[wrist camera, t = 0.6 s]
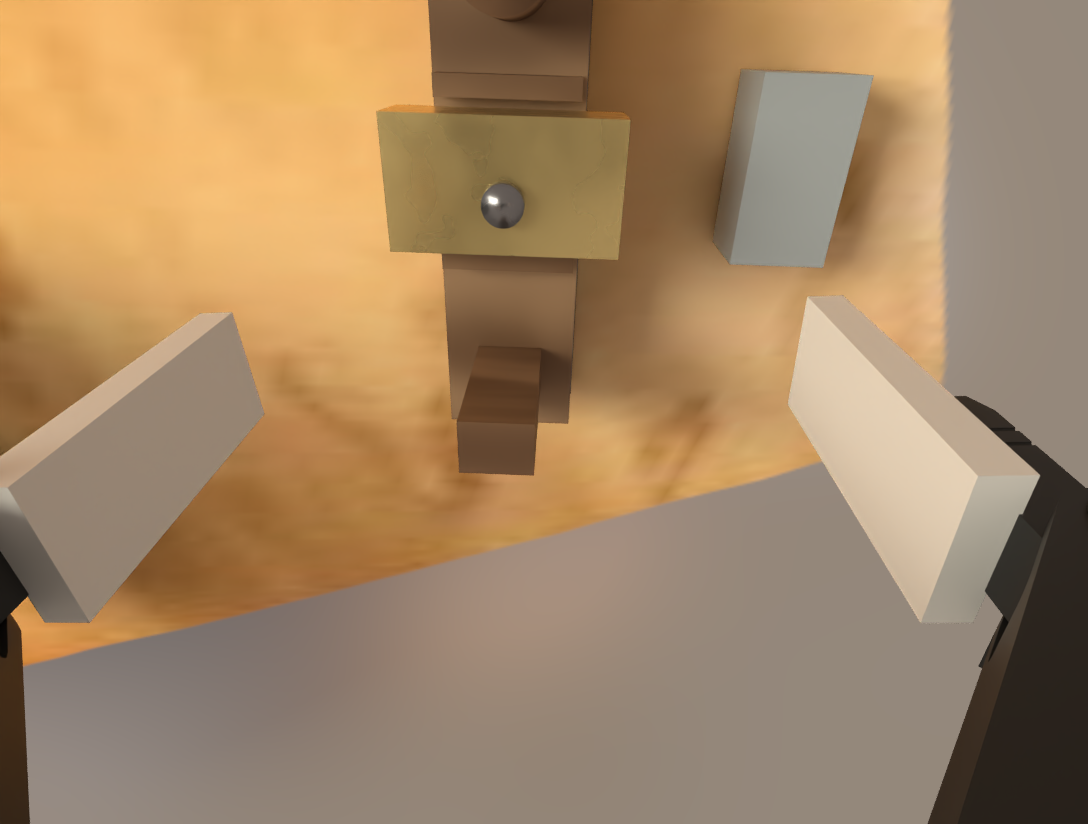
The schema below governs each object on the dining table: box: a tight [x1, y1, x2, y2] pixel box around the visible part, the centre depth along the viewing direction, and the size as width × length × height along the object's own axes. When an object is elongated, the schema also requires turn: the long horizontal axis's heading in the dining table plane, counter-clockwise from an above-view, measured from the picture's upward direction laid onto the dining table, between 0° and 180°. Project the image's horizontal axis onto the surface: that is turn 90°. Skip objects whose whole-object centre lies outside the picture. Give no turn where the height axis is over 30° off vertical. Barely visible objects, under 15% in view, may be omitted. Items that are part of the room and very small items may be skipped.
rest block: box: [712, 69, 874, 268], centre depth 29 cm, size 4×8×4 cm, turn 178°
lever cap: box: [376, 105, 631, 260], centre depth 24 cm, size 5×9×4 cm, turn 88°
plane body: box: [428, 0, 593, 475], centre depth 26 cm, size 24×6×13 cm, turn 178°
